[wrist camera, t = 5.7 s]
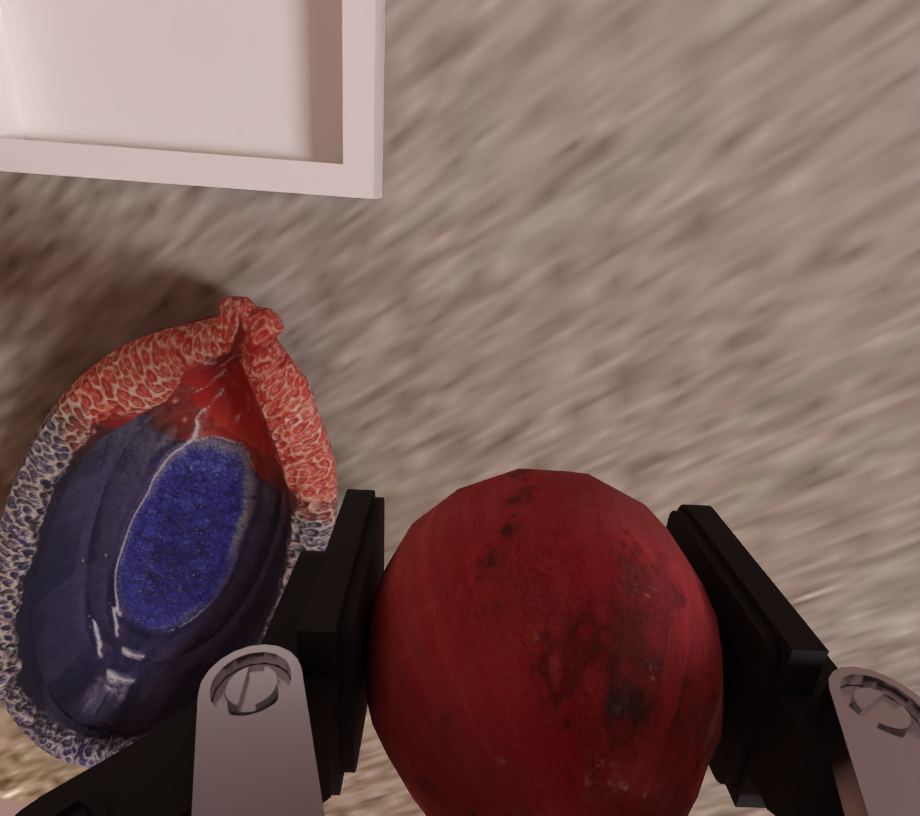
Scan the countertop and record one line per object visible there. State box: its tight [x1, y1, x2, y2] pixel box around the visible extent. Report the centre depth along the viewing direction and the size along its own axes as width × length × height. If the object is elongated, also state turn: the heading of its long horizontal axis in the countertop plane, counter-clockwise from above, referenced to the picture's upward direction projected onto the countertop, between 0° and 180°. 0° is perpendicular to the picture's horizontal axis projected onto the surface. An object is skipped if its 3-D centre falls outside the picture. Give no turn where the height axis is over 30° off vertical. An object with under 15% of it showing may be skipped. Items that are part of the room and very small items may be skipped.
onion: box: [365, 469, 724, 816], centre depth 9 cm, size 6×6×8 cm
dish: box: [0, 296, 338, 768], centre depth 29 cm, size 16×31×5 cm, turn 150°
